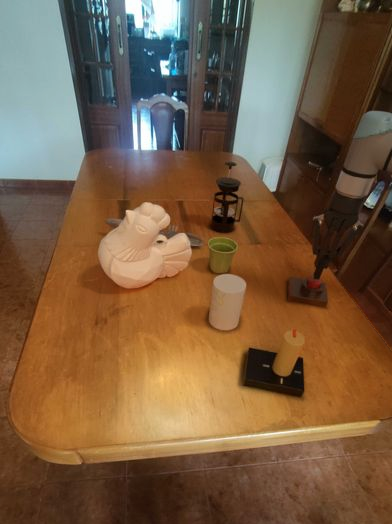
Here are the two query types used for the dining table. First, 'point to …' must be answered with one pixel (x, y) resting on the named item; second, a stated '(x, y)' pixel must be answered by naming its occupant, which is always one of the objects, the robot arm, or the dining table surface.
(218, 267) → the plant pot
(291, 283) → the switch block
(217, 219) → the french press
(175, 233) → the spaceship
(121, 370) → the dining table surface
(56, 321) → the dining table surface
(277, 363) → the dimmer knob
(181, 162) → the dining table surface
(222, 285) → the cup
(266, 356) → the dimmer
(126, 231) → the decorative rooster
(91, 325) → the dining table surface
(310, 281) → the button
